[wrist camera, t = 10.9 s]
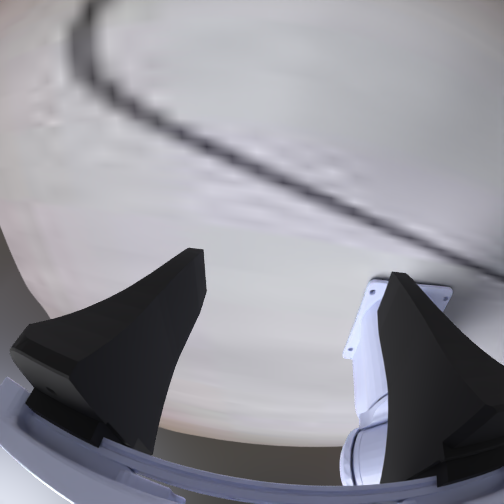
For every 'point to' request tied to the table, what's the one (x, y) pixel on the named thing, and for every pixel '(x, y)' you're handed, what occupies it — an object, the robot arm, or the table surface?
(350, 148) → the table surface
